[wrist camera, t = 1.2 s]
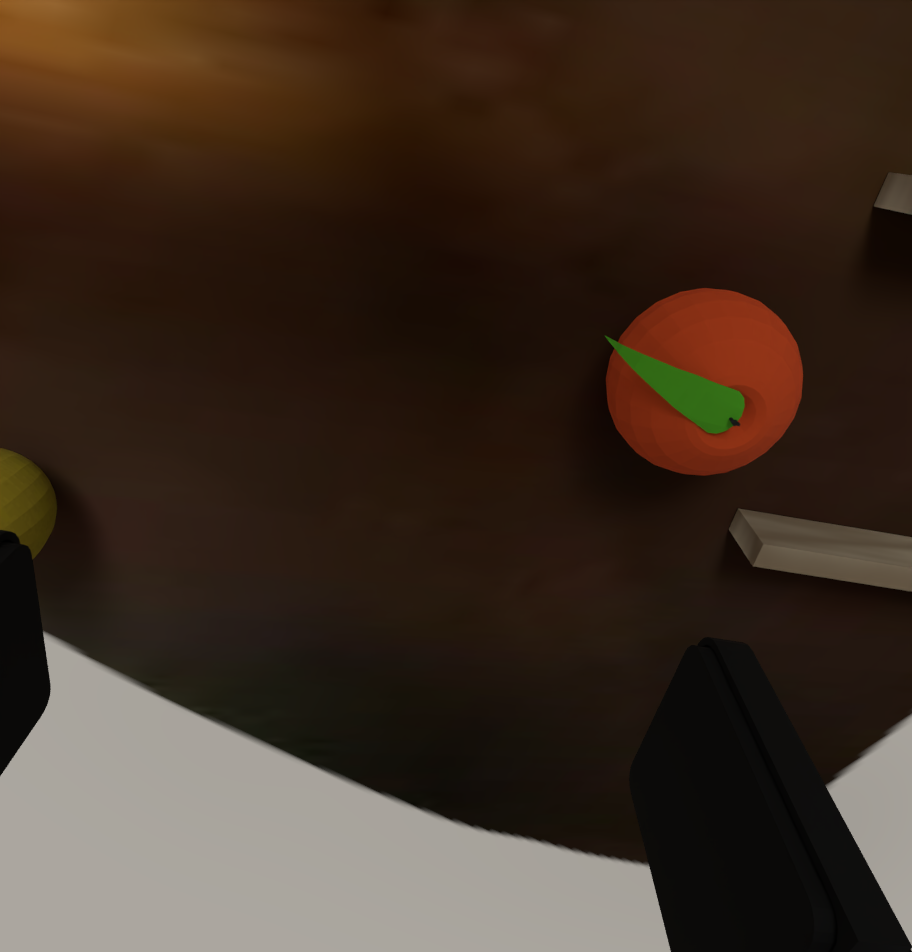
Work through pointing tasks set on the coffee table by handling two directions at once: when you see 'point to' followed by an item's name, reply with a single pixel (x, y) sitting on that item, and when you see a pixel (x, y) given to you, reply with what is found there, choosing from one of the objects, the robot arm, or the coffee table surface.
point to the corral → (823, 543)
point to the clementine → (704, 381)
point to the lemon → (26, 501)
